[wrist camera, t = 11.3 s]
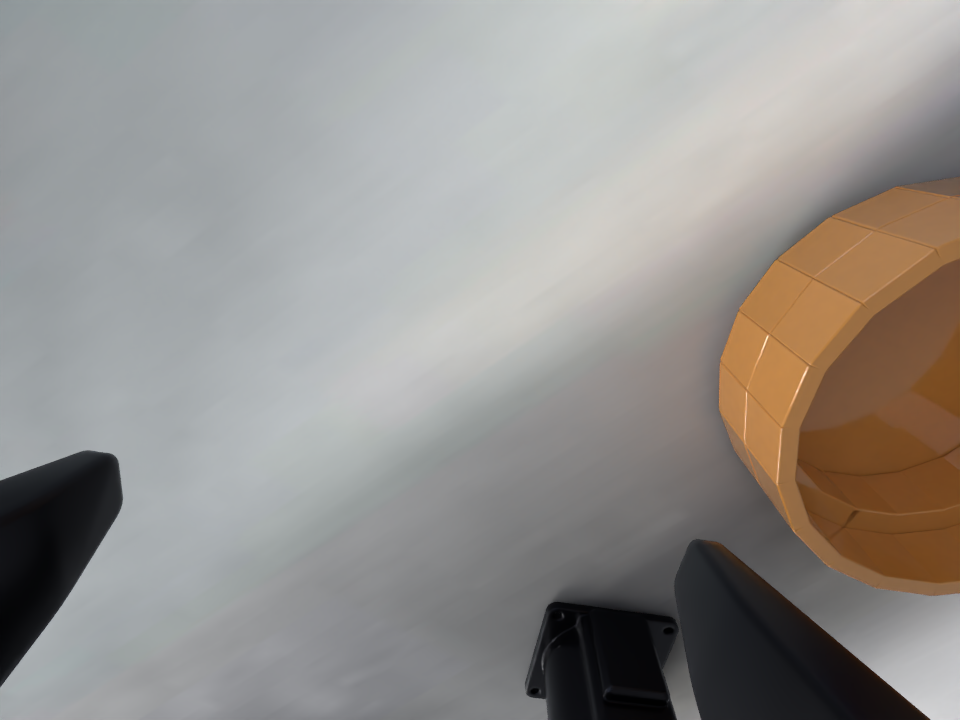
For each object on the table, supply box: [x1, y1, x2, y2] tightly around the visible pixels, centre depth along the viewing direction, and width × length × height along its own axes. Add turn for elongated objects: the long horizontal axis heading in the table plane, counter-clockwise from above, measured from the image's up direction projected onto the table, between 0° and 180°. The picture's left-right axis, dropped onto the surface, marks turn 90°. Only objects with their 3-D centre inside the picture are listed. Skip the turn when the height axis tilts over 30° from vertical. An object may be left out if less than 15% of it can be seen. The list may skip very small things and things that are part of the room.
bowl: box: [719, 177, 960, 596], centre depth 19 cm, size 13×13×6 cm
